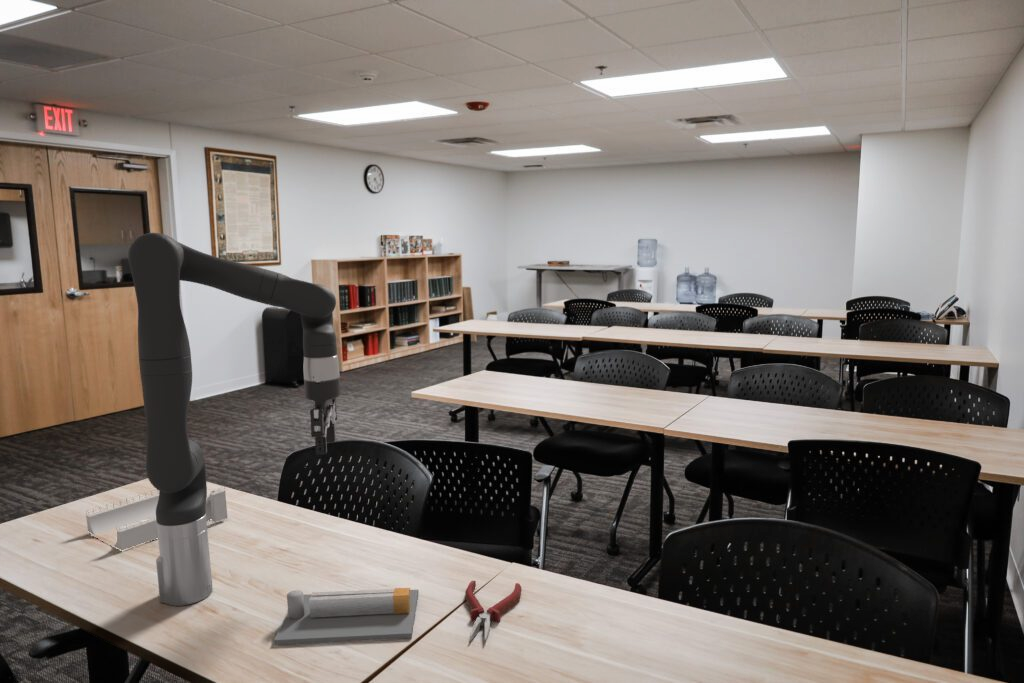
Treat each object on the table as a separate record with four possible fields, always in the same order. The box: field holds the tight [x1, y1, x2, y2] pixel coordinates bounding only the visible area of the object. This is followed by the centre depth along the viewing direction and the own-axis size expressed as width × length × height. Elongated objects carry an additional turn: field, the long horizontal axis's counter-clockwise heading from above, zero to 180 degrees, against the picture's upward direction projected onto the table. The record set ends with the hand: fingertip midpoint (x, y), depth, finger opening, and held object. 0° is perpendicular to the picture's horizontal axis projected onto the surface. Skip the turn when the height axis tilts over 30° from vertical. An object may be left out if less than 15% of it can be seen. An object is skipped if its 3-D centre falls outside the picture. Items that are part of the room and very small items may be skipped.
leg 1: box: [311, 587, 411, 607], centre depth 132 cm, size 19×1×4 cm, turn 93°
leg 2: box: [309, 591, 410, 618], centre depth 131 cm, size 19×1×4 cm, turn 94°
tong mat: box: [273, 589, 419, 646], centre depth 131 cm, size 25×16×6 cm, turn 93°
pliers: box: [464, 580, 522, 642], centre depth 132 cm, size 12×20×3 cm, turn 172°
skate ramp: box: [85, 485, 228, 550], centre depth 176 cm, size 25×23×10 cm
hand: (326, 448), depth 149 cm, fingers open, 8 cm apart
